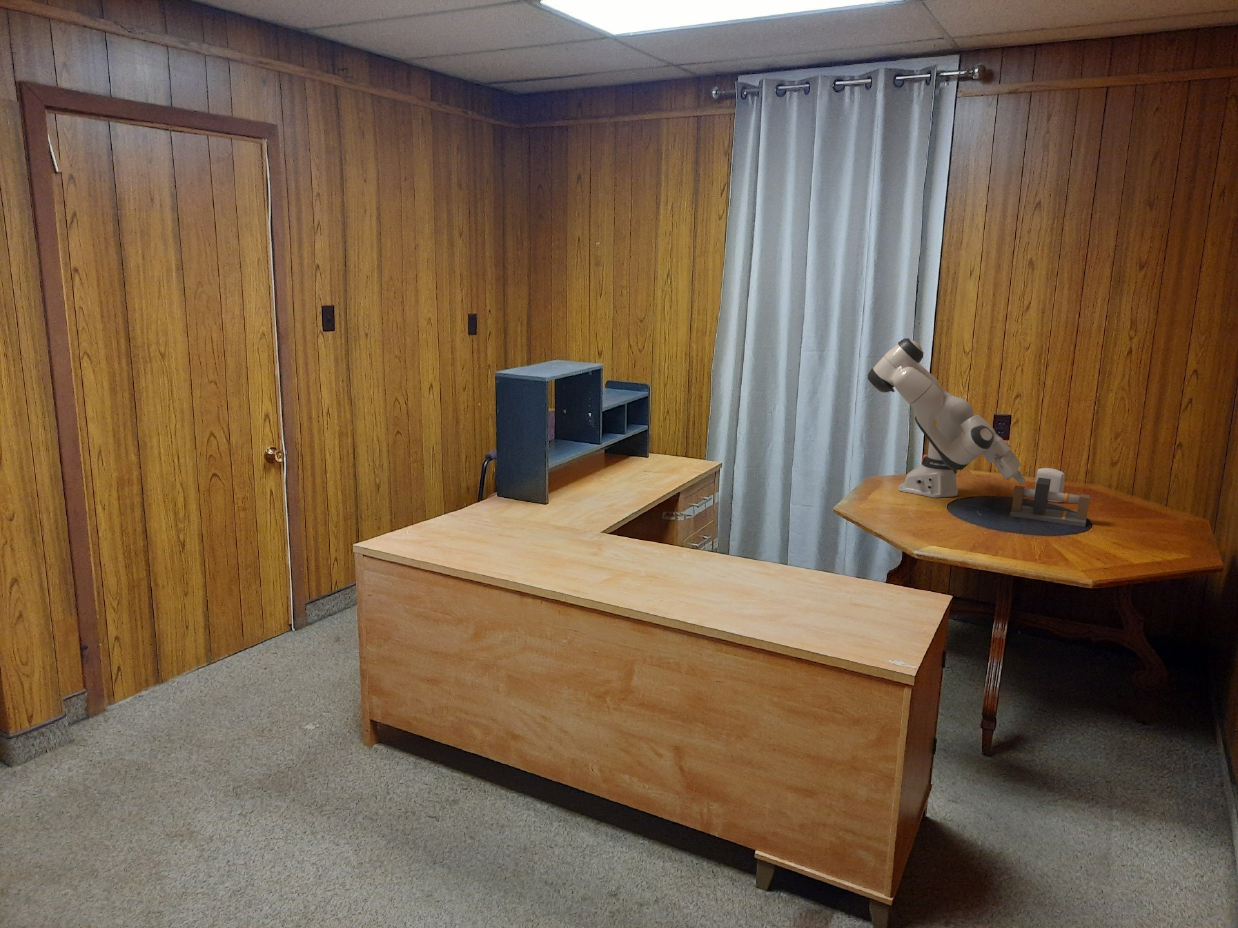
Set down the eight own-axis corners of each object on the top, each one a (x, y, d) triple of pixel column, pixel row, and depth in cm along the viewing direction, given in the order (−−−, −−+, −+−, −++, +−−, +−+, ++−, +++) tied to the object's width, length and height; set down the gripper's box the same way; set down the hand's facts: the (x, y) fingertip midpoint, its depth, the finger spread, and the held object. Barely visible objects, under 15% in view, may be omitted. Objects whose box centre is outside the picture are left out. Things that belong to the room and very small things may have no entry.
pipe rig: (1009, 516, 309) (1013, 490, 307) (1013, 508, 319) (1016, 483, 317) (1085, 527, 298) (1089, 500, 296) (1086, 518, 308) (1090, 492, 306)
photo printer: (1031, 497, 334) (1035, 467, 331) (1036, 496, 337) (1040, 465, 334) (1058, 503, 326) (1062, 472, 323) (1063, 502, 329) (1068, 470, 326)
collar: (1032, 510, 306) (1036, 483, 304) (1035, 503, 315) (1038, 477, 312) (1045, 512, 304) (1048, 484, 302) (1047, 505, 313) (1050, 478, 310)
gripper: (1001, 452, 302) (1027, 483, 300) (1008, 442, 320) (1033, 471, 317) (986, 463, 306) (1012, 493, 303) (993, 452, 323) (1018, 481, 320)
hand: (1023, 482), depth 310 cm, fingers closed
